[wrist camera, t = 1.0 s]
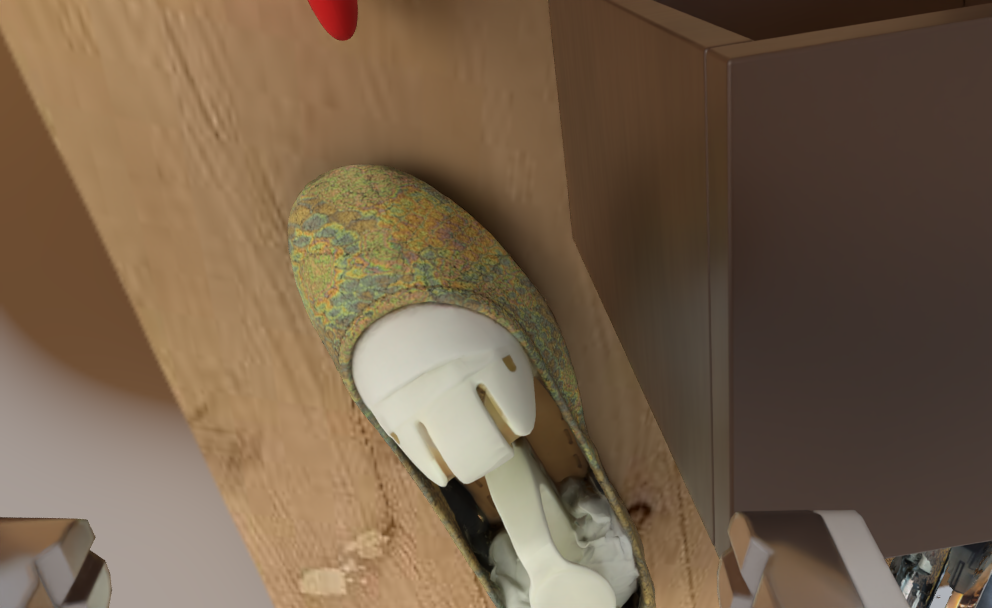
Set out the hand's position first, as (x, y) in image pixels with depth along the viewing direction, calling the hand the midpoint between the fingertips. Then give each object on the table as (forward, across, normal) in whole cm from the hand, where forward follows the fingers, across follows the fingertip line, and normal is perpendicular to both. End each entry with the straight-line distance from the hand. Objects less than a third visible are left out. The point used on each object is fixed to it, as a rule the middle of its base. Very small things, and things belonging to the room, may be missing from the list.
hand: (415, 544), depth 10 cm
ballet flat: (+20, -1, +14) cm, 24 cm away
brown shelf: (+22, -9, +2) cm, 23 cm away
